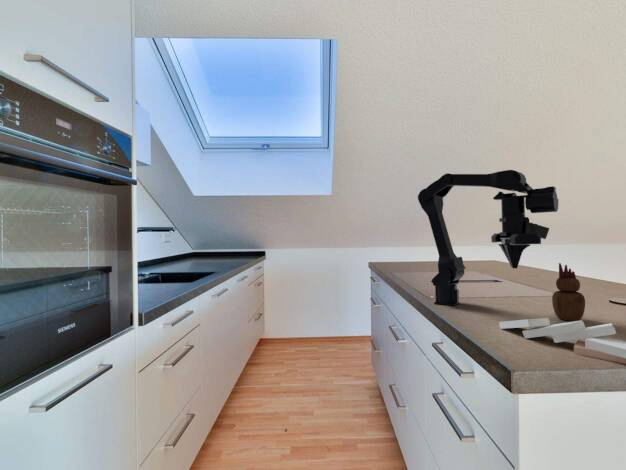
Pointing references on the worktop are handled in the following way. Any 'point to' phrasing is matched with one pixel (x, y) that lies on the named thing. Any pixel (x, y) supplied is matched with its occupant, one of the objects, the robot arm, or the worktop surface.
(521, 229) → the robot arm
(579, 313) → the wooden figurine
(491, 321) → the worktop surface
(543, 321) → the domino
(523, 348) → the worktop surface
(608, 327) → the domino
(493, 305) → the worktop surface
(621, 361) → the domino
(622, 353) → the domino
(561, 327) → the domino
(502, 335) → the worktop surface
